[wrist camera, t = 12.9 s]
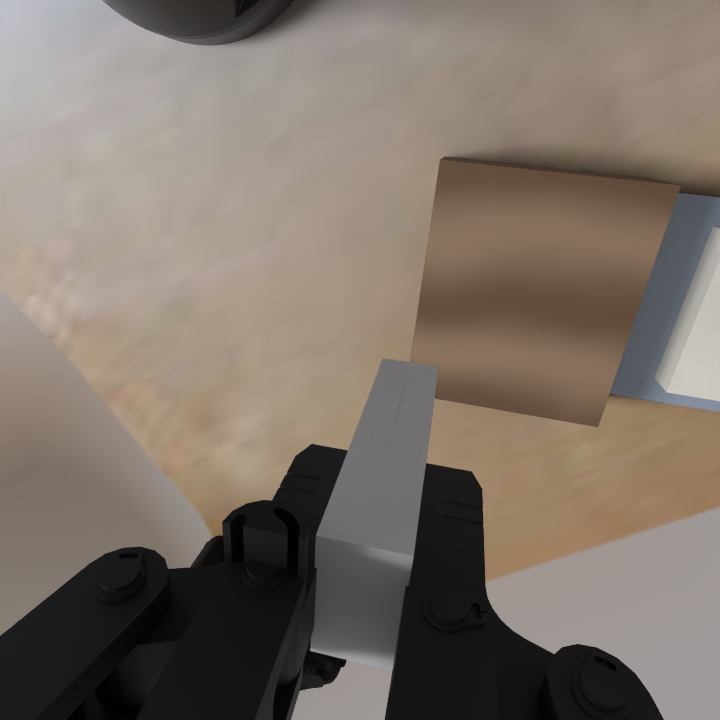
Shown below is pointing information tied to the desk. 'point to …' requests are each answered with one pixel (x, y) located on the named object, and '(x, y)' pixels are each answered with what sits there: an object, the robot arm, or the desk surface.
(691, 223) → the mat
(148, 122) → the desk surface
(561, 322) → the brown wooden flat block
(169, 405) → the desk surface
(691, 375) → the white rectangular block
